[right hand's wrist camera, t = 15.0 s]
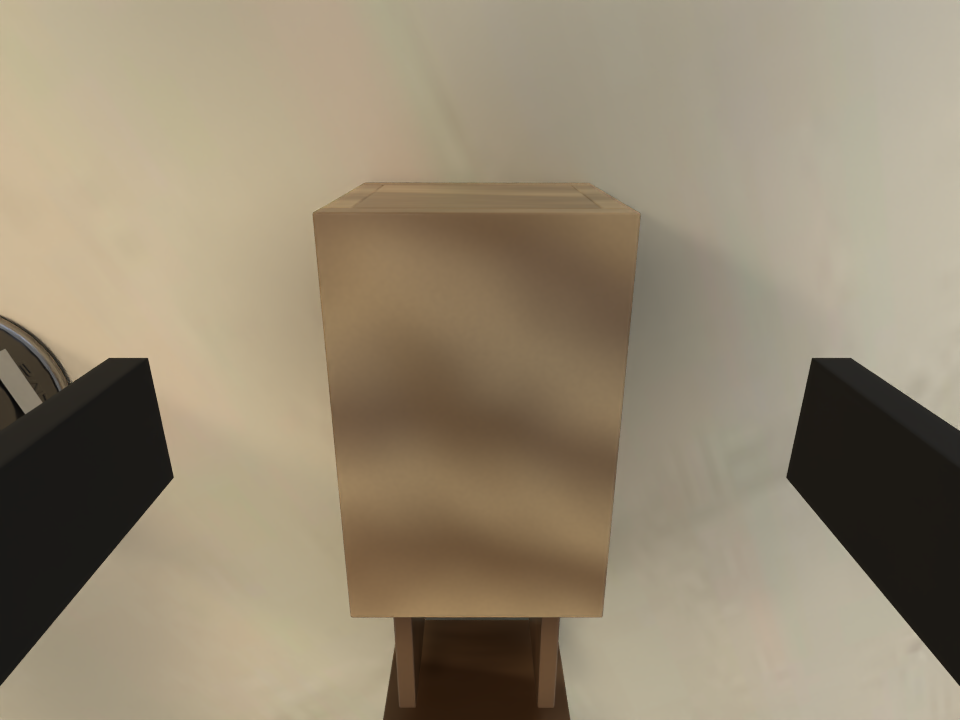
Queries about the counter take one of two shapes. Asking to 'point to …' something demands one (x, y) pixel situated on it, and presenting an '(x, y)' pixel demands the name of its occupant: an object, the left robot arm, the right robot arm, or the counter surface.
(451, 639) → the drawer
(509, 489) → the cabinet
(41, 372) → the left robot arm
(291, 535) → the counter surface
